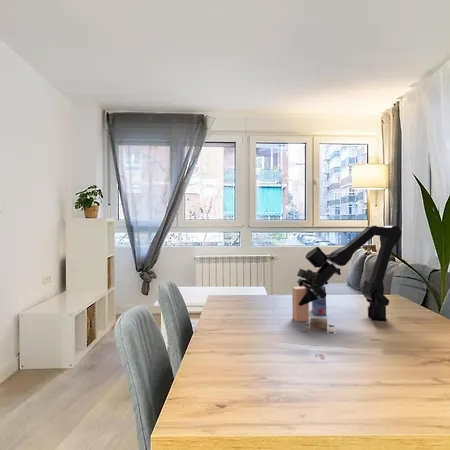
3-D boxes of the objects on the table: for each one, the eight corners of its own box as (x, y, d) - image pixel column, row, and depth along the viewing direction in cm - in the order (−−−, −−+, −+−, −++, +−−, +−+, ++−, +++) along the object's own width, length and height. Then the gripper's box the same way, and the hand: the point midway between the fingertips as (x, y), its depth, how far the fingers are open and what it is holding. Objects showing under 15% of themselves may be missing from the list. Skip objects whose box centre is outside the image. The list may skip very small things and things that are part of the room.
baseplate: (335, 328, 150) (335, 324, 150) (335, 337, 139) (335, 332, 139) (303, 326, 154) (303, 322, 154) (301, 335, 142) (301, 330, 142)
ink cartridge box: (311, 309, 183) (310, 278, 182) (323, 309, 182) (323, 278, 182) (313, 314, 173) (313, 281, 173) (326, 314, 172) (326, 281, 172)
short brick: (327, 326, 148) (327, 318, 148) (327, 331, 143) (327, 322, 142) (310, 325, 150) (310, 317, 150) (310, 329, 144) (310, 321, 144)
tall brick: (304, 320, 162) (304, 286, 162) (308, 323, 157) (308, 288, 157) (292, 321, 161) (292, 287, 161) (296, 324, 156) (296, 289, 156)
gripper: (301, 259, 169) (276, 286, 167) (318, 264, 150) (290, 294, 149) (319, 277, 170) (294, 304, 169) (338, 284, 152) (310, 314, 150)
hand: (297, 303), depth 159 cm, fingers closed on tall brick, 5 cm apart
